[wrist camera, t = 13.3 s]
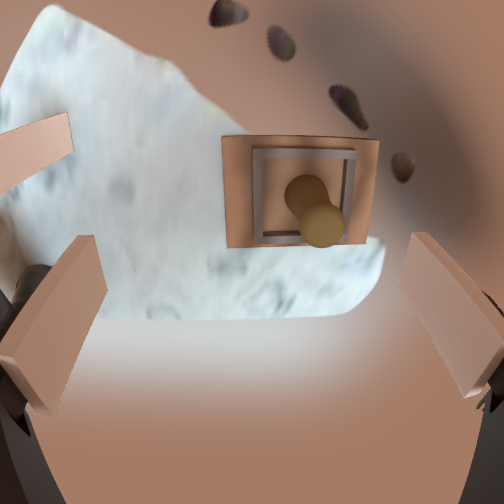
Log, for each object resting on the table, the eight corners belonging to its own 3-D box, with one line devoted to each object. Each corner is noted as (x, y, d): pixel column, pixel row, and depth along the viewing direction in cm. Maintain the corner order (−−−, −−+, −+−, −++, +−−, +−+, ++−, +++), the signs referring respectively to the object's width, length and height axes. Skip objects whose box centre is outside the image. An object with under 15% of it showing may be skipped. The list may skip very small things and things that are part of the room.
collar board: (227, 244, 47) (227, 253, 45) (222, 136, 39) (221, 139, 37) (363, 240, 48) (369, 248, 46) (376, 139, 40) (383, 143, 37)
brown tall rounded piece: (307, 223, 45) (326, 265, 35) (275, 199, 43) (286, 237, 33) (336, 192, 42) (363, 227, 33) (303, 165, 40) (324, 194, 31)
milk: (74, 151, 38) (-25, 216, 20) (43, 159, 38) (-55, 225, 19) (67, 111, 35) (-42, 152, 16) (35, 121, 35) (-72, 169, 16)
